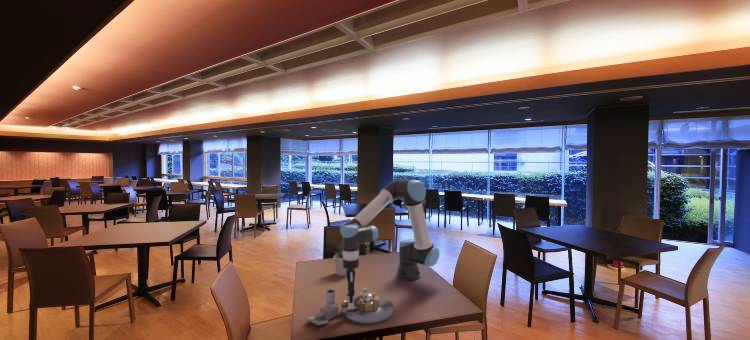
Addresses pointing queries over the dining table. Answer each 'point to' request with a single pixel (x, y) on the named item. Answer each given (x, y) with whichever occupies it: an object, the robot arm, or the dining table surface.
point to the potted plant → (339, 263)
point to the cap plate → (372, 316)
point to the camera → (326, 310)
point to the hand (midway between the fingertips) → (351, 308)
